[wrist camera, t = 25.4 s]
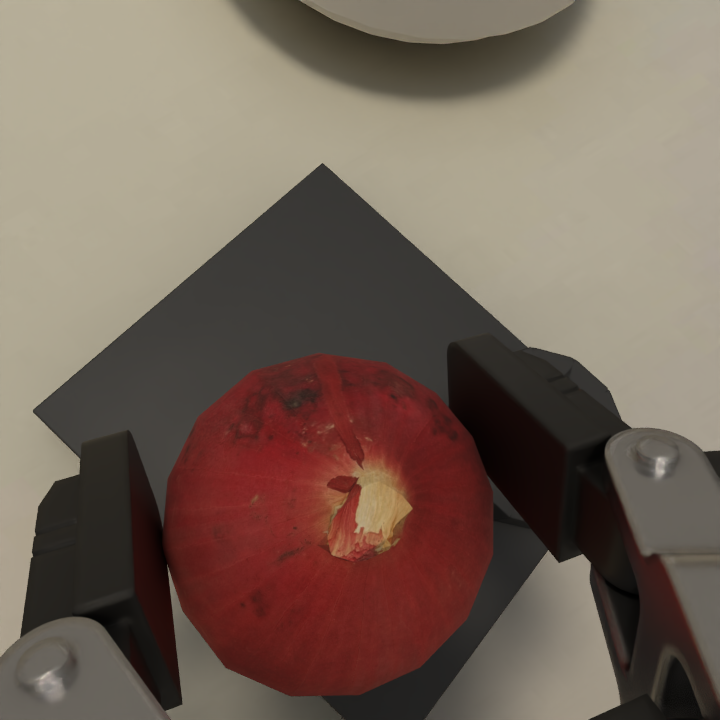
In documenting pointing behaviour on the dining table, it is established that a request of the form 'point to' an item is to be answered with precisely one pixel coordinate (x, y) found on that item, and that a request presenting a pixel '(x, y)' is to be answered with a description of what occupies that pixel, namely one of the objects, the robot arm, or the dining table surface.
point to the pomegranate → (327, 525)
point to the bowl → (438, 17)
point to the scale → (299, 339)
